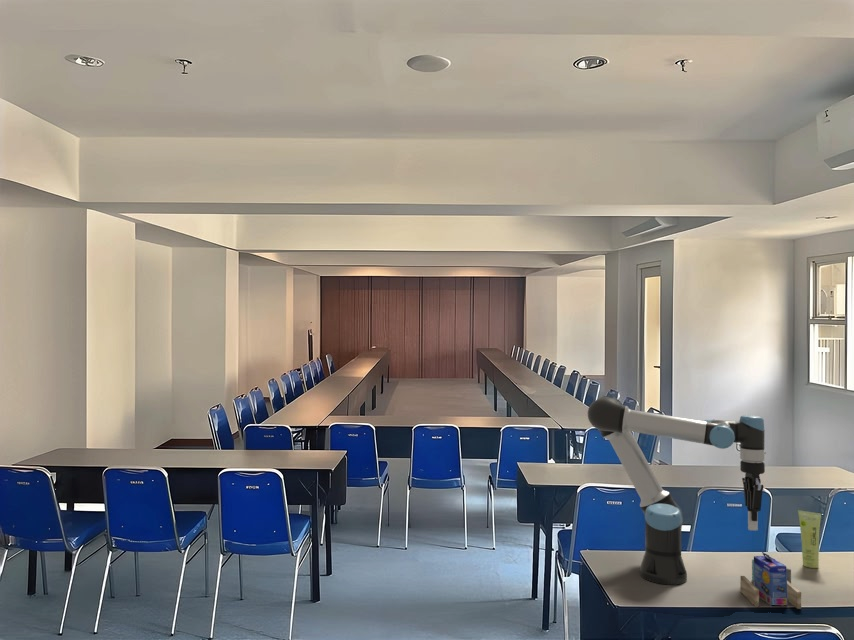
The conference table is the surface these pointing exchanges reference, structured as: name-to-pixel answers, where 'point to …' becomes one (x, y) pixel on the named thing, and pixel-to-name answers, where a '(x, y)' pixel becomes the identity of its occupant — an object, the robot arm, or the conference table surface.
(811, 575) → the conference table surface
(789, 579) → the gate
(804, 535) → the tube
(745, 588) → the pair of wooden planks
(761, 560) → the ink cartridge box
